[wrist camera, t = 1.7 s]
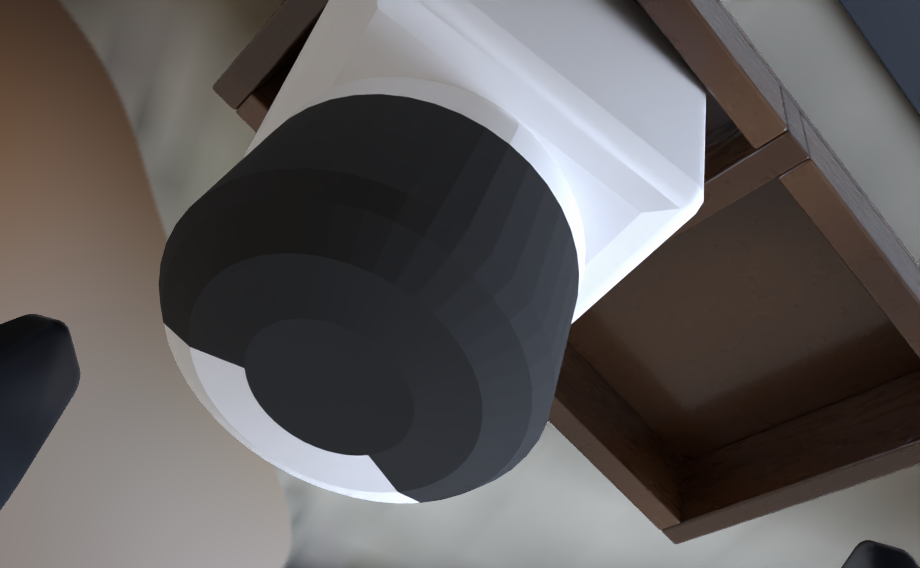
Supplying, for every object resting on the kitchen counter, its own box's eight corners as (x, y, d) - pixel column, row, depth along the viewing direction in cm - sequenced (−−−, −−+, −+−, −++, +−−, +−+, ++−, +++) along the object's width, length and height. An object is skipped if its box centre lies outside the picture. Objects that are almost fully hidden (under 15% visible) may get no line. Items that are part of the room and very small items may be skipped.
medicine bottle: (475, -137, 17) (194, 22, 8) (713, 61, 19) (713, 407, 9) (334, 96, 22) (42, 379, 12) (534, 246, 23) (407, 612, 13)
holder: (987, 355, 21) (1021, 433, 19) (678, 475, 27) (675, 546, 25) (528, -255, 16) (496, -252, 14) (264, 49, 22) (210, 88, 20)
